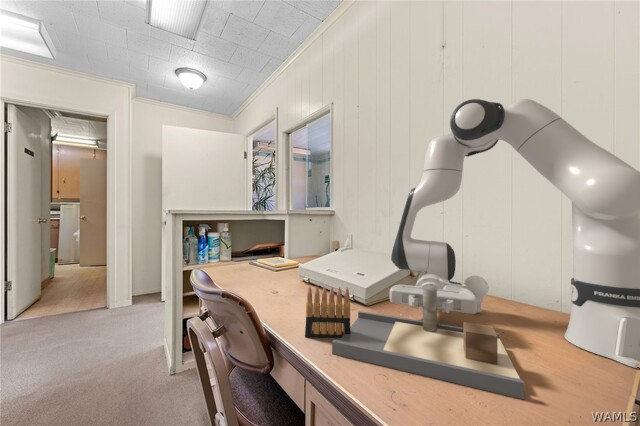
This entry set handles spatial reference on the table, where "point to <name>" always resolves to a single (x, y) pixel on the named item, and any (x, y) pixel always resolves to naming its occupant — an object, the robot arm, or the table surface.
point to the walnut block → (480, 343)
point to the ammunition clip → (327, 315)
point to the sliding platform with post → (441, 341)
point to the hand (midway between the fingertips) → (429, 307)
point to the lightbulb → (477, 289)
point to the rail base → (372, 339)
